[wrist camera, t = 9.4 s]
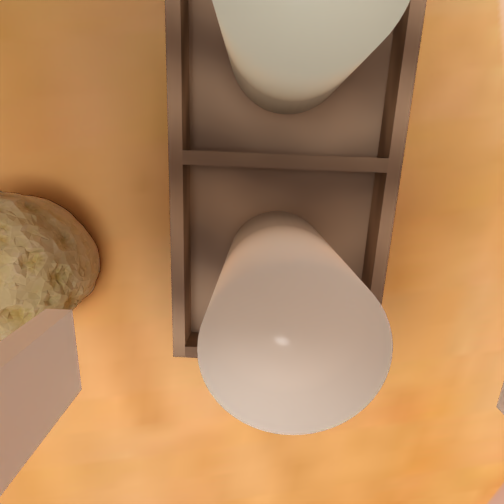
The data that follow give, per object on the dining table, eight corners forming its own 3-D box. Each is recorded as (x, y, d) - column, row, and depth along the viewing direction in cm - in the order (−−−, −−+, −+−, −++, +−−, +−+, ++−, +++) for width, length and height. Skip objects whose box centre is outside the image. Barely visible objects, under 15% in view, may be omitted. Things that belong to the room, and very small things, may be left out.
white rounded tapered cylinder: (230, 208, 22) (196, 256, 10) (328, 212, 22) (406, 264, 10) (228, 299, 23) (197, 430, 12) (319, 303, 23) (378, 439, 12)
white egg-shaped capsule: (230, -22, 19) (204, -189, 10) (356, -18, 18) (442, -184, 10) (228, 112, 20) (203, 71, 12) (342, 116, 20) (405, 78, 11)
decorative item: (128, 252, 28) (103, 191, 19) (64, 369, 24) (-9, 366, 15) (19, 208, 27) (-64, 123, 18) (-65, 321, 23) (-224, 286, 14)
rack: (177, -81, 19) (162, -126, 16) (415, -74, 19) (444, -118, 16) (183, 334, 25) (173, 356, 22) (359, 343, 25) (372, 366, 22)
